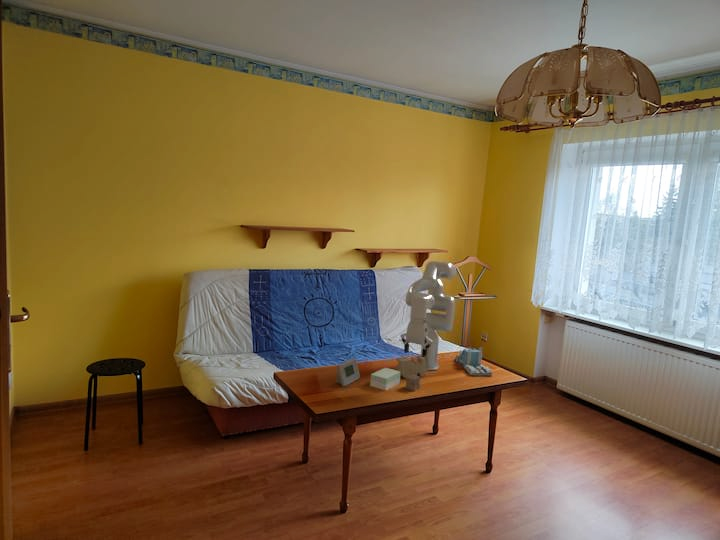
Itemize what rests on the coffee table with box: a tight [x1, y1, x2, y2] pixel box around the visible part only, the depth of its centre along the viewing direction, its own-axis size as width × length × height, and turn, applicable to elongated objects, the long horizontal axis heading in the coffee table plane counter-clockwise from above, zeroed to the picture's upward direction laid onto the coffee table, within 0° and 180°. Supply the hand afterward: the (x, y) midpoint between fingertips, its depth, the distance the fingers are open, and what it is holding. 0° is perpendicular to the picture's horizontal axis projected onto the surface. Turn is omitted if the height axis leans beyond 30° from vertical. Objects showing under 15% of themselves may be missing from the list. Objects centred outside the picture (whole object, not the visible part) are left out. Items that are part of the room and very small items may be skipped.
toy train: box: [396, 355, 429, 379], centre depth 250 cm, size 6×17×10 cm, turn 113°
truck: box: [454, 346, 493, 377], centre depth 270 cm, size 12×29×15 cm, turn 7°
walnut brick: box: [405, 374, 421, 392], centre depth 232 cm, size 5×5×6 cm
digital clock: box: [336, 357, 361, 387], centre depth 235 cm, size 16×9×11 cm, turn 138°
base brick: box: [369, 367, 401, 391], centre depth 235 cm, size 14×9×6 cm, turn 146°
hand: (415, 354), depth 230 cm, fingers open, 9 cm apart
